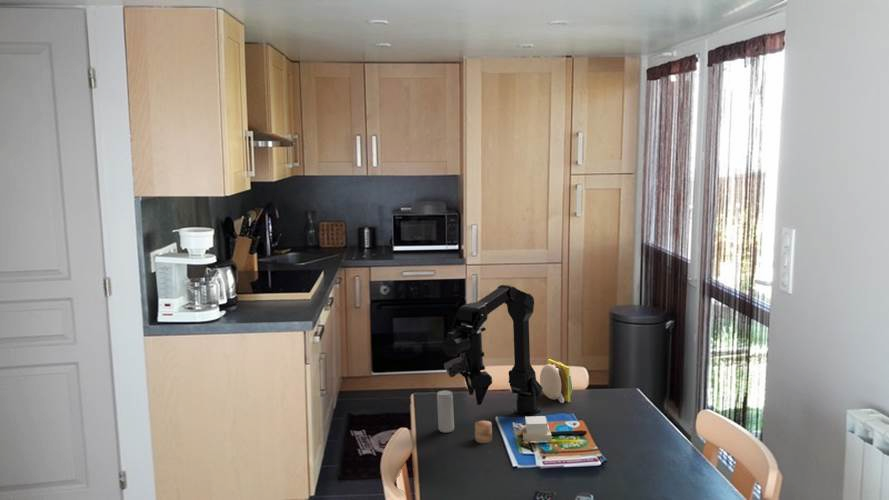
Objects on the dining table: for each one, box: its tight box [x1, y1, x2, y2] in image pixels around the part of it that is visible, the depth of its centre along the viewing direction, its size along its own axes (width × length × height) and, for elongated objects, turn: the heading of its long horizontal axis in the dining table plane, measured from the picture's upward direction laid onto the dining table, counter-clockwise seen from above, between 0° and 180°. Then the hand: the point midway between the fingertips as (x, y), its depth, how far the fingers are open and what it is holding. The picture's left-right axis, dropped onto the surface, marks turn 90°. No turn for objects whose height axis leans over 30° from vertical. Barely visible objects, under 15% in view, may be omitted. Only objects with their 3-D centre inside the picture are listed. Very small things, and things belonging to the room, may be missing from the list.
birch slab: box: [521, 423, 553, 443], centre depth 209 cm, size 8×8×3 cm
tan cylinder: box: [474, 420, 493, 444], centre depth 209 cm, size 5×5×5 cm
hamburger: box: [539, 358, 573, 404], centre depth 242 cm, size 12×8×12 cm
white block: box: [524, 415, 549, 434], centre depth 209 cm, size 6×6×3 cm
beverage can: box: [436, 389, 455, 434], centre depth 218 cm, size 5×5×12 cm
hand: (475, 399), depth 209 cm, fingers open, 9 cm apart
